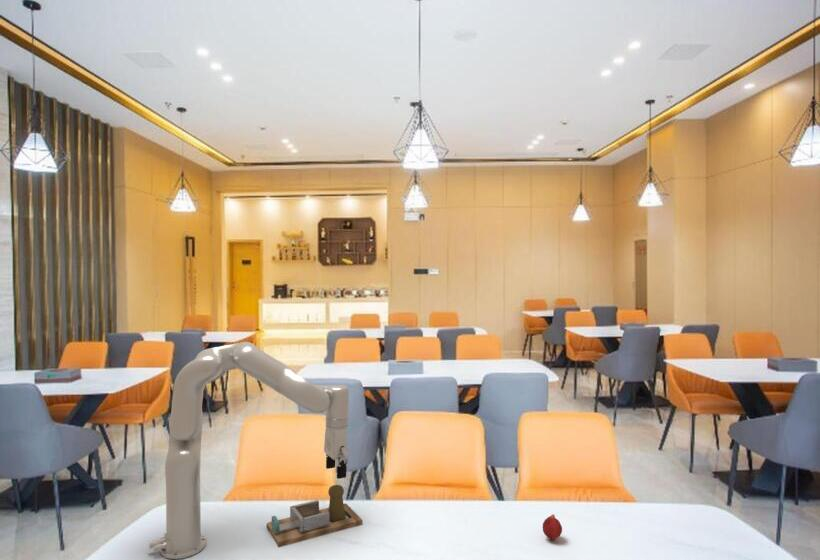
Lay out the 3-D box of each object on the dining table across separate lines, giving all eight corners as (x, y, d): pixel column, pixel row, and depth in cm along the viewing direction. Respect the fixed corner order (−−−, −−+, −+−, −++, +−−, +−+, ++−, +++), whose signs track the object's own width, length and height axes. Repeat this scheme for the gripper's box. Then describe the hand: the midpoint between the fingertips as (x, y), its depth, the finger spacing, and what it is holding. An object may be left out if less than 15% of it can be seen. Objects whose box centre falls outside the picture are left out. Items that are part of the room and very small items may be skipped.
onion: (548, 546, 154) (548, 519, 154) (539, 536, 160) (539, 511, 160) (565, 543, 156) (565, 517, 156) (555, 534, 161) (555, 509, 161)
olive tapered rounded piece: (347, 514, 174) (346, 482, 174) (343, 523, 168) (342, 490, 168) (330, 514, 174) (329, 482, 174) (325, 522, 168) (324, 489, 168)
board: (278, 547, 154) (278, 542, 154) (266, 527, 166) (266, 522, 166) (362, 524, 168) (362, 519, 168) (345, 507, 180) (345, 503, 180)
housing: (278, 538, 155) (278, 525, 155) (269, 523, 165) (269, 511, 165) (329, 525, 164) (329, 512, 164) (317, 511, 173) (317, 499, 173)
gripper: (317, 417, 176) (316, 466, 176) (336, 430, 161) (335, 484, 161) (337, 414, 180) (336, 462, 180) (357, 427, 165) (356, 479, 165)
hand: (335, 472), depth 171 cm, fingers open, 9 cm apart
